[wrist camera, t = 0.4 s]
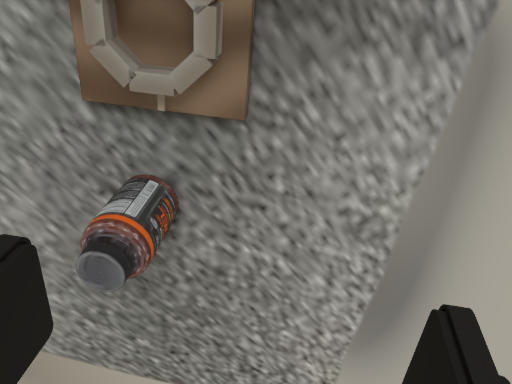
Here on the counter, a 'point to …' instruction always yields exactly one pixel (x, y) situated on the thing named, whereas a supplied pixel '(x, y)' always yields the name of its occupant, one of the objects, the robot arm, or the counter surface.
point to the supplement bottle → (126, 233)
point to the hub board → (166, 54)
